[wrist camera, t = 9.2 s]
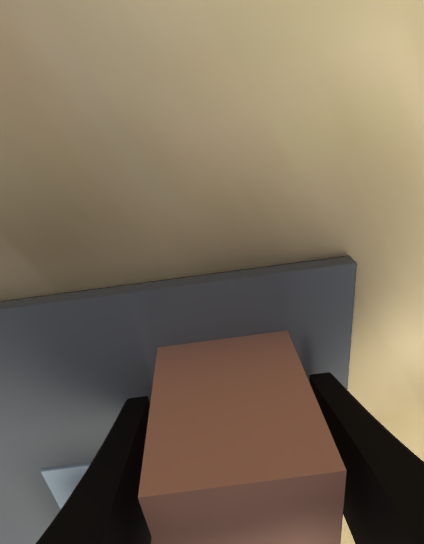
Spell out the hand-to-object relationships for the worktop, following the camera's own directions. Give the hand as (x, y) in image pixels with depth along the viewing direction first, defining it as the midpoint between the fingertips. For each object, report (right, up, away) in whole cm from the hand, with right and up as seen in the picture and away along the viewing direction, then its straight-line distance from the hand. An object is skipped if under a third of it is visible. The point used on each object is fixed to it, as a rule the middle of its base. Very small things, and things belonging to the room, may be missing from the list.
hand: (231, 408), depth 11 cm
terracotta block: (0, 0, +1) cm, 1 cm away
